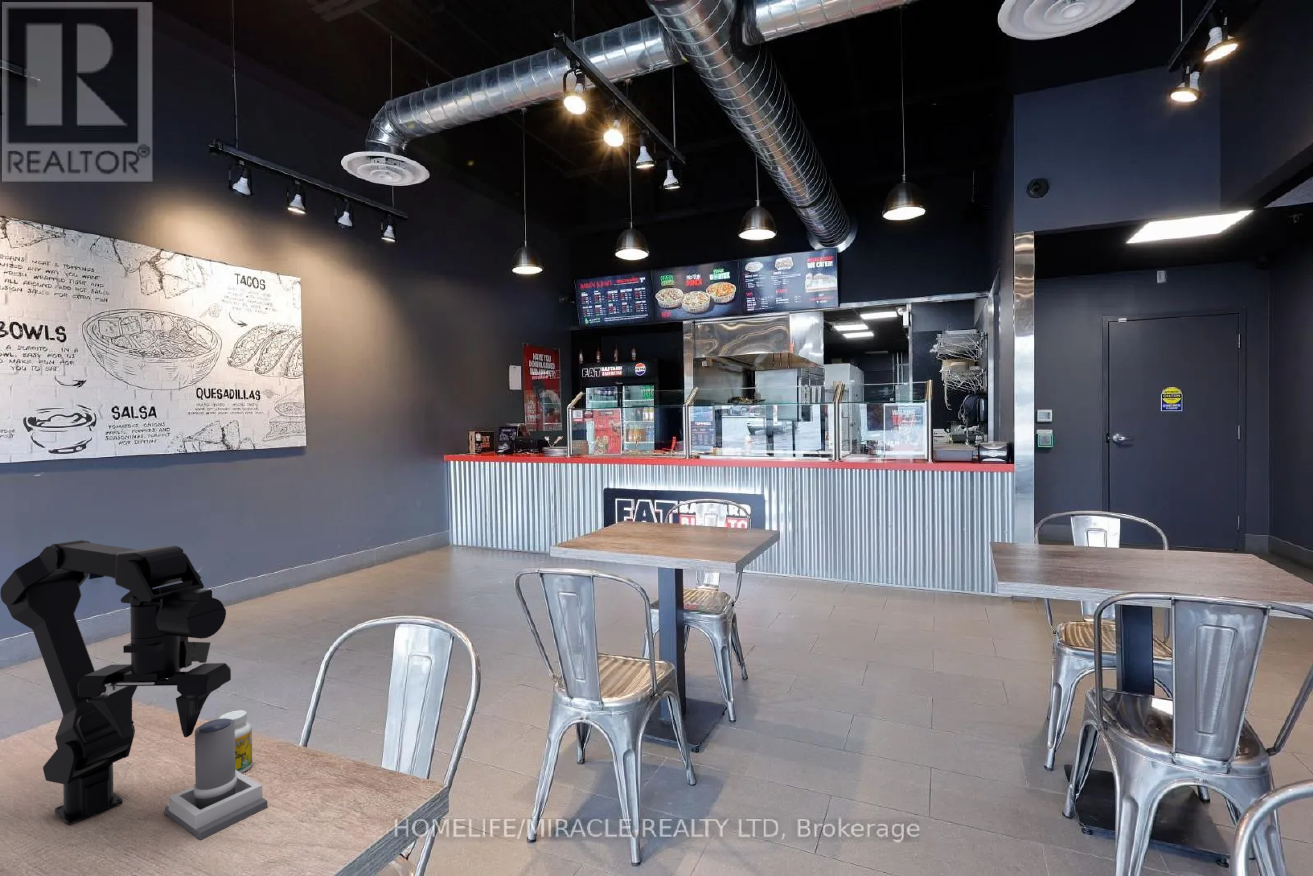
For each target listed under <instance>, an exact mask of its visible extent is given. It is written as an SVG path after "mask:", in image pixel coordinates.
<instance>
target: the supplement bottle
mask: <svg viewBox="0 0 1313 876" xmlns="http://www.w3.org/2000/svg"><path fill="white" fill-rule="evenodd" d="M247 713H248V712H247V711H246V710H243V709H242V710H241V709H240V710H233V711H228V712H227V713H226V712H225V713H223V714H222V715H221V716H219V717H218V719H223V718H226V719H232V720H234V721H235V770H237V771H238V772H240V773H242V774H243V773H245V772H246V771H248V770H250V769H251V767H252V766H253V738H252V737H253V728H252V725H251V723H250V722H248V721H247V719H248V717H247Z"/></svg>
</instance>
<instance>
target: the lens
mask: <svg viewBox="0 0 1313 876" xmlns="http://www.w3.org/2000/svg"><path fill="white" fill-rule="evenodd" d="M194 761H195V762H194V763H195V764H194V765H195V767H194V770H195V773H194V774H195V775H194V776H195V778H194V779H195V781H194V782H195V783H194V785H193V786H194V796H195V797H196V807H197V808H198V809H199V810H201V809H204V808H206V807H208V806H210V805H212V804H215V803H217V802H219V801H221V800H223V799H226V798H228V797H230V796H232V795H234V794H236V790H235V786H236V784H237V774H236V772H235V721H234V720H232V719H226V718H223V719H219V718H216V719H212V720H209V721H207V722H204V723H203V724H200V725H199V726H198V727H196V728H195V729H194Z"/></svg>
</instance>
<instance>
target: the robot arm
mask: <svg viewBox="0 0 1313 876" xmlns="http://www.w3.org/2000/svg"><path fill="white" fill-rule="evenodd" d="M89 574H91V575H95V576H96V575H97V576H103V577H108V578H111V579H114V582H115V585H116V586H117V587H119V588H120V587H121V588H122V589H125V590H128V592H127V593H126V594H125V595H123V596H122V597H121V598H120V602H121V603H122V604H130V606H129V607H130V608H129V609H130V611H129V612H130V643H127V644H125V645H123V653H124V654H130V660H131V661H130V664H129V663H128V664H123V663H122V664H109V665H106V666H104V667H102V668H99V669H96V670H95V667H94V665H93V663H92V659H91V657H90V654H89V651H88V648H87V646H86V643H85V640H84V638H83V635H82V632H81V630H80V627H79V623H78V622H77V618H76V615H75V613H76V610H77V608H78V605H79V603H80V600H81V598H82V592H81V588H80V587H81V586H82V584H83V583H84V582H85V581H87V578H88V577H89ZM201 579H202V576H201V575H200V574H199V573H198V572H197V570H196V569H195V567H194V565H193V563H192V562H191V560H190V558H189V556H188V555H187V553H185V551H184V549H183V548H181V547H180V546H178V545H167V546H166V545H165V546H157V547H149V548H142V549H134V548H127V547H122V546H121V547H120V546H114V545H113V546H112V545H106V544H100V543H92V542H90V541H89V540H81V539H80V540H73V541H65V542H59V543H53V544H51V545H49V546H46V547H45V548H43V549H42V550H41V552H40V553H39V555H37V556H36V557H34V558H32V559H31V560H29V561H27V562H26V563H24V564H22V565H21V566H19V567H17V568H16V569H14V570H13V572H12V573H11V575H10V576H9V577H8V578H7V579H6V581H4V583H3V584H2V586H1V587H0V599H1V601H2V603H4V605H5V606H6V607H7V609H8V611H9V613H10V616H11V617H12V619H14V621H15V620H16V621H17V622H19V623H20V624H22V625H24V626H26V627H27V628H29V629H31V630H32V632H33V634H34V637H35V639H36V642H37V646H38V648H39V651H40V654H41V657H42V659H43V663H44V665H45V668H46V671H47V673H48V676H49V679H50V681H51V685H52V687H53V690H54V693H55V696H56V698H57V701H58V704H59V706H60V707H59V708H60V710H61V712H62V718H61V721H60V723H59V726H58V728H57V732H56V734H55V737H54V739H55V744H56V748H57V749H56V750H55V751H54V752H53V754H52V755H51V756H50V757H49V759H48V760H47V761H46V762H45V764H44V765H43V766H42V770H43V774H44V779H45V781H47V782H50V783H55V784H61V785H62V786H63V790H62V791H63V804H62V805H59V806H57V807H55V808H54V813H55V814H56V815H57V816H58V817H59V818H60V819H61V820H62V821H63V822H65V824H67V825H71V824H74V823H77V822H79V821H81V820H83V819H84V820H85V819H86V818H89V817H91V816H94V815H96V814H99V813H101V812H104V811H106V810H108V809H111V808H113V807H115V806H119V805H121V804H122V803H123V801H124V799H123V798H122V797H121V796H120V795H118V794H117V793H115V792H114V763H116V762H118V761H121V760H123V759H126V758H128V757H129V756H130V752H131V749H132V745H133V741H134V738H135V733H136V730H135V729H136V728H135V725H134V724H135V722H134V720H133V696H134V695H135V692H136V691H137V689H138V687H161V686H163V687H164V686H165V687H167V686H176V691H177V692H178V693H179V694H180V695H179V696H177V697H175V703H176V708H177V713H178V718H179V719H178V720H179V724H180V728H181V729H180V730H181V732H182V735H183V737H184V738H188V737H190V736H191V735H192V734H193V732H194V731H195V727H196V725H197V722H198V719H199V718H200V714H201V712H202V710H203V707H204V705H205V702H206V701H207V699H208V698H209V696H210V695H211V693H213V692H214V691H216V690H218V689H220V688H221V686H223V685H224V684H226V683H229V682H230V681H231V680H232V674H231V673H232V670H231V666H229V664H227V663H226V662H220V663H219V662H216V663H215V662H214V663H213V662H212V663H211V662H208V663H207V660H208V657H209V653H210V652H209V651H210V646H211V642H209V641H207V642H206V641H189V638H190V639H191V638H193V639H201V640H202V639H207V638H208V639H209V638H210V637H211V636H214V635H215V634H216V633H218V631H219V630H220V629H221V628H222V627H223V625H224V623H225V621H226V616H227V610H226V608H225V606H224V604H223V602H222V601H221V600H220V599H218V598H215V597H213V590H212V589H209V588H207V589H205V585H204V583H203V582H202V580H201ZM193 662H198V663H200V665H198V666H196V667H194V668H192V669H190V670H188V671H181V669H186V668H188V667H191V666H192V664H193ZM201 663H202V664H201Z"/></svg>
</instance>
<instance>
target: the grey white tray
mask: <svg viewBox="0 0 1313 876" xmlns="http://www.w3.org/2000/svg"><path fill="white" fill-rule="evenodd" d="M235 772H236V774H237V784H236V786H235V790H236V794H234V795H232V796H230V797H228V798H226V799H223V800H221V801H219V802H217V803H215V804H212V805H210V806H208V807H206V808H204V809H201V810H199V809H198V808H197V807H196V797H195V796H194V785H193V786H191V787H189V788H186V789H184V790H182V791H180V792H177V793H175V794H172V795H170V796H168V805H166V806H164V815H166V817H169V818H170V819H172V820H173V821H174V822H175V823H176V824H178V825H179V826H180V827H182V828H183V829H184V830H186V831H188V832H189V833H190V834H192V836H194V837H195V838H197V839H199V840H201V841H202V840H203V839H205V838H209V836H212V835H213V834H215V833H218V832H220V831H222V830H223V829H226V828H228V827H230V826H232V825H234V824H237V823H238V822H240V821H242V820H244V819H247V818H248V817H250V816H252V815H254V814H257V813H259V812H260V811H262V810H265V809H266V808H268V800H267V799H265V798H263V785H262V784H261V783H260V782H258V781H256V780H254V779H253V778H251V777H248V776H247V775H245V774H243V773H240V772H238V771H237V770H235Z"/></svg>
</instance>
